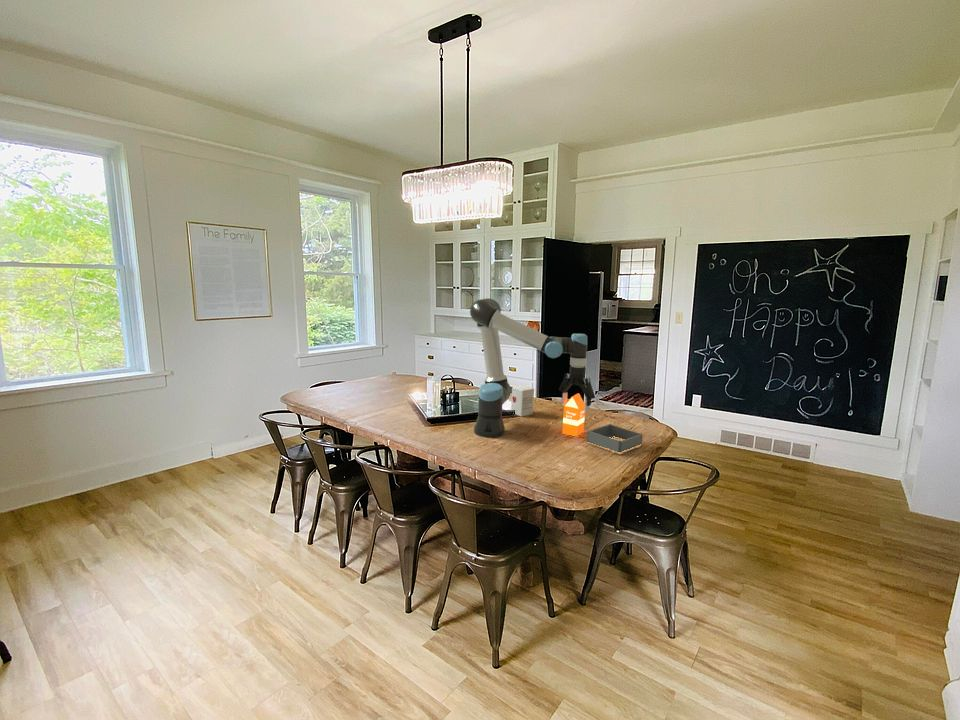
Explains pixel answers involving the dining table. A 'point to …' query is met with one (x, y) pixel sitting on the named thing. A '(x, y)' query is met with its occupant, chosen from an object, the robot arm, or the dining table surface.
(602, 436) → the bin
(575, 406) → the orange juice
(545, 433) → the dining table surface
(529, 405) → the supplement box
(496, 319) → the robot arm
